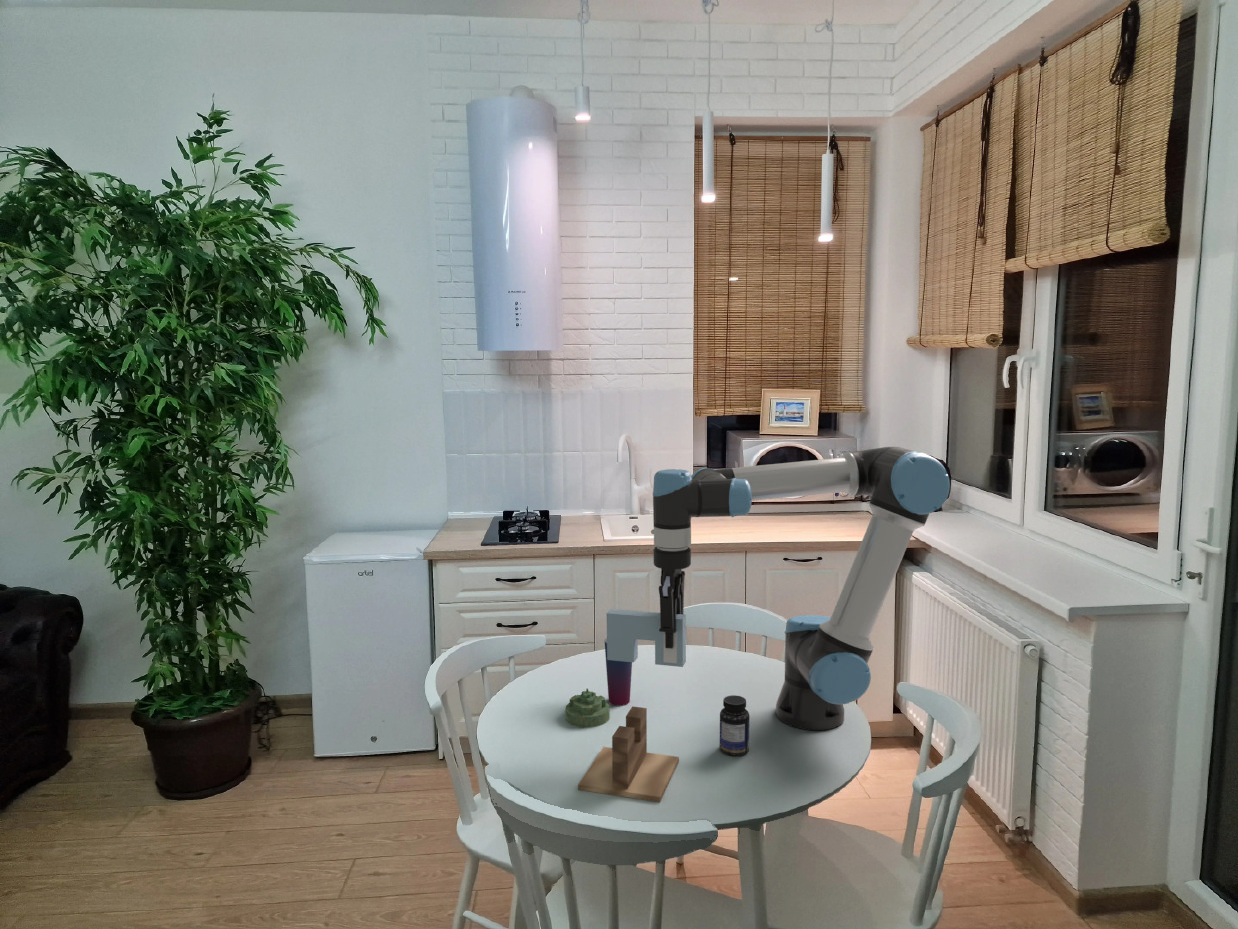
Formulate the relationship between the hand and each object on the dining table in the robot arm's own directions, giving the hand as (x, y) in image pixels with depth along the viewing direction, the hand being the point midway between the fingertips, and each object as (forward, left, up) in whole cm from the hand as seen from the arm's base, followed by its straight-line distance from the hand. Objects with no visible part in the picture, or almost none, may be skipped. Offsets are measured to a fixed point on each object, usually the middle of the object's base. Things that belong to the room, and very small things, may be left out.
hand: (672, 658), depth 171 cm
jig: (+6, +12, -20) cm, 24 cm away
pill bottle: (-12, -4, -20) cm, 24 cm away
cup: (+18, -21, -20) cm, 34 cm away
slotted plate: (+6, 0, -1) cm, 6 cm away
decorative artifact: (+22, -10, -20) cm, 32 cm away
